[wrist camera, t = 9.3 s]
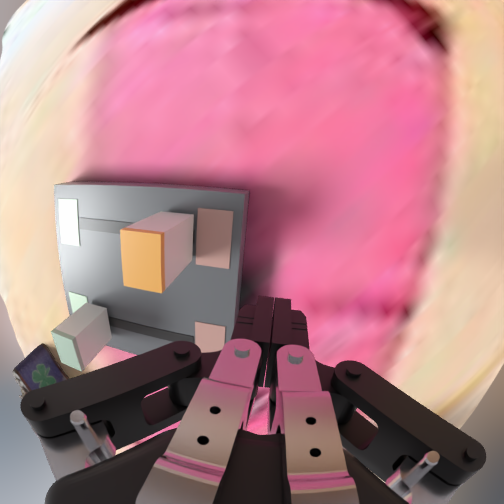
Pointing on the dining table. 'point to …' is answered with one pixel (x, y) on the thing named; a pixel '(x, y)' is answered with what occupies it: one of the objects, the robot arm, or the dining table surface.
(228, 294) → the dual slider panel
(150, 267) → the block
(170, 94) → the dining table surface
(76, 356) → the block
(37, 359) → the flask
